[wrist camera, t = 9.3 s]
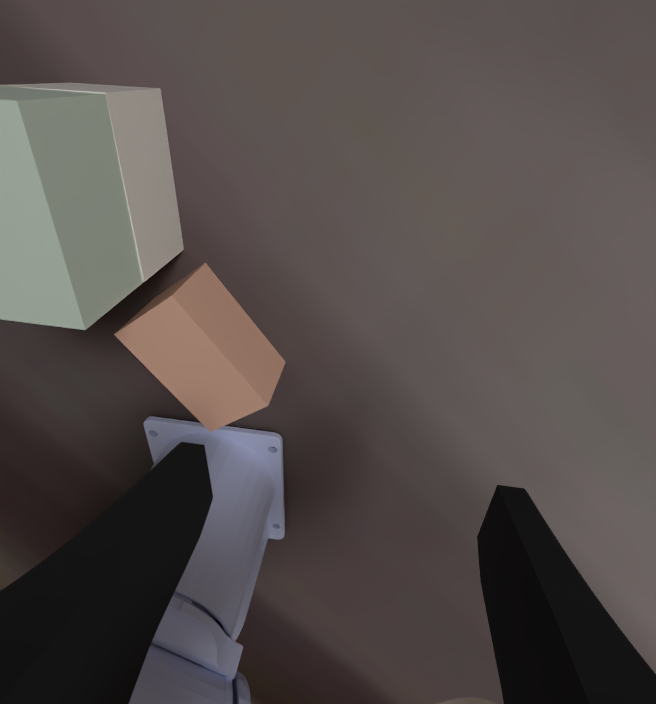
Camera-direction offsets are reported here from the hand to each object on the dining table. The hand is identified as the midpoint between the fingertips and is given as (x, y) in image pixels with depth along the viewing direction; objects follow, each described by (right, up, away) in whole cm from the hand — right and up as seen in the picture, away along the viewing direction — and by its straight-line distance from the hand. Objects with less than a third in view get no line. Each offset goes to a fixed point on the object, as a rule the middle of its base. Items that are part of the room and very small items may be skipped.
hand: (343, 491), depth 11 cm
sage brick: (-9, +9, +4) cm, 13 cm away
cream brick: (-8, +11, +6) cm, 15 cm away
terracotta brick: (-6, +5, +10) cm, 12 cm away
